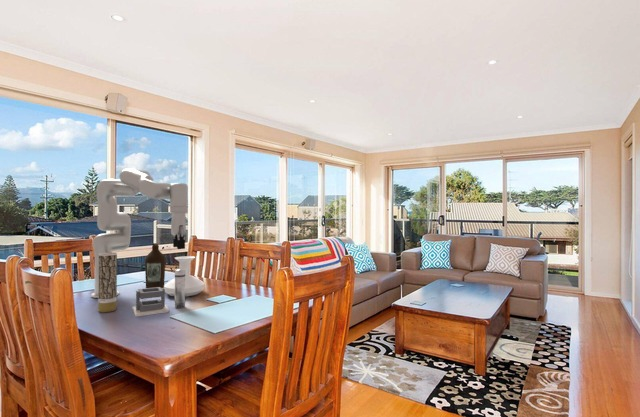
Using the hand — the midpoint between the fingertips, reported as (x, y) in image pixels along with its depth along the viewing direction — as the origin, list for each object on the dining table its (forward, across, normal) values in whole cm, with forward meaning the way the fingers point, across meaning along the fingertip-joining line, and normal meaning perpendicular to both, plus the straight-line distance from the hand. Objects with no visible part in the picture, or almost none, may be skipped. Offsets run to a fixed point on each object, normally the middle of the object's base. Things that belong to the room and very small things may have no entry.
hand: (178, 247), depth 162 cm
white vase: (+27, -24, +7) cm, 37 cm away
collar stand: (+27, -1, -12) cm, 29 cm away
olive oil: (+27, -48, -4) cm, 55 cm away
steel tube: (+27, 0, 0) cm, 27 cm away
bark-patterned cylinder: (+27, -10, -28) cm, 40 cm away
